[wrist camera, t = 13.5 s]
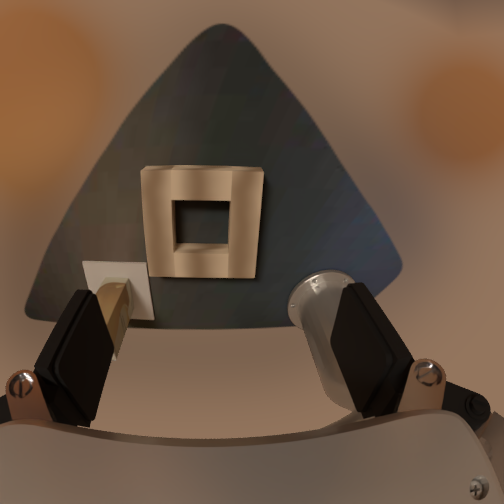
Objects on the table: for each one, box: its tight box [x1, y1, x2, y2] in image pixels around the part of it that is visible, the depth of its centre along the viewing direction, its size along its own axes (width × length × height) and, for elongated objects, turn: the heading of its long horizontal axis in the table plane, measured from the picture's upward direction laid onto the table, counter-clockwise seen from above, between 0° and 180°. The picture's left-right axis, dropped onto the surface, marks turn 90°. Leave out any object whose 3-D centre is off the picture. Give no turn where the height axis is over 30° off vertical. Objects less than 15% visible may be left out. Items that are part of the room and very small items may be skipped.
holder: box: [141, 165, 264, 278], centre depth 38 cm, size 15×15×3 cm
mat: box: [82, 261, 155, 320], centre depth 43 cm, size 11×11×1 cm
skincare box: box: [96, 277, 134, 361], centre depth 38 cm, size 6×4×12 cm
